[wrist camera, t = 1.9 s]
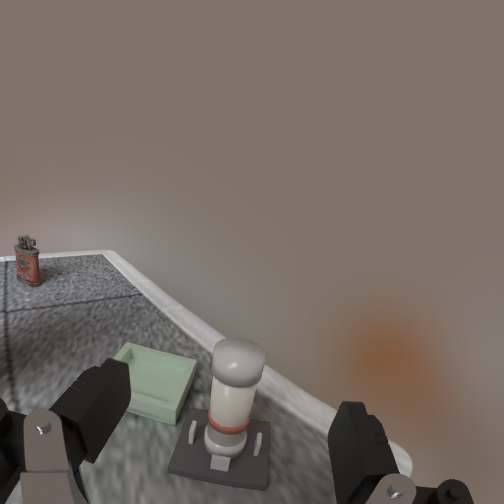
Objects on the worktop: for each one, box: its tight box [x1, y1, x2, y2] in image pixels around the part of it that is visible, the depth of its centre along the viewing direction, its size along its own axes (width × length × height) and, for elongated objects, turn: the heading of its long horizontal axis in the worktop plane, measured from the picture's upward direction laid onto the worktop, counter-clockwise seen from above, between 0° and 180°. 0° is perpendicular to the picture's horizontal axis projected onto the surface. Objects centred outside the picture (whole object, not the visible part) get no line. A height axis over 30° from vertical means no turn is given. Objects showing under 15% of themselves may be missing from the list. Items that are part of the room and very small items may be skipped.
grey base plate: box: [168, 408, 270, 490], centre depth 24 cm, size 9×9×3 cm
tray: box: [113, 342, 197, 425], centre depth 32 cm, size 10×10×2 cm
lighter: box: [14, 235, 41, 287], centre depth 48 cm, size 8×3×10 cm, turn 79°
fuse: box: [204, 338, 266, 459], centre depth 23 cm, size 4×4×12 cm
